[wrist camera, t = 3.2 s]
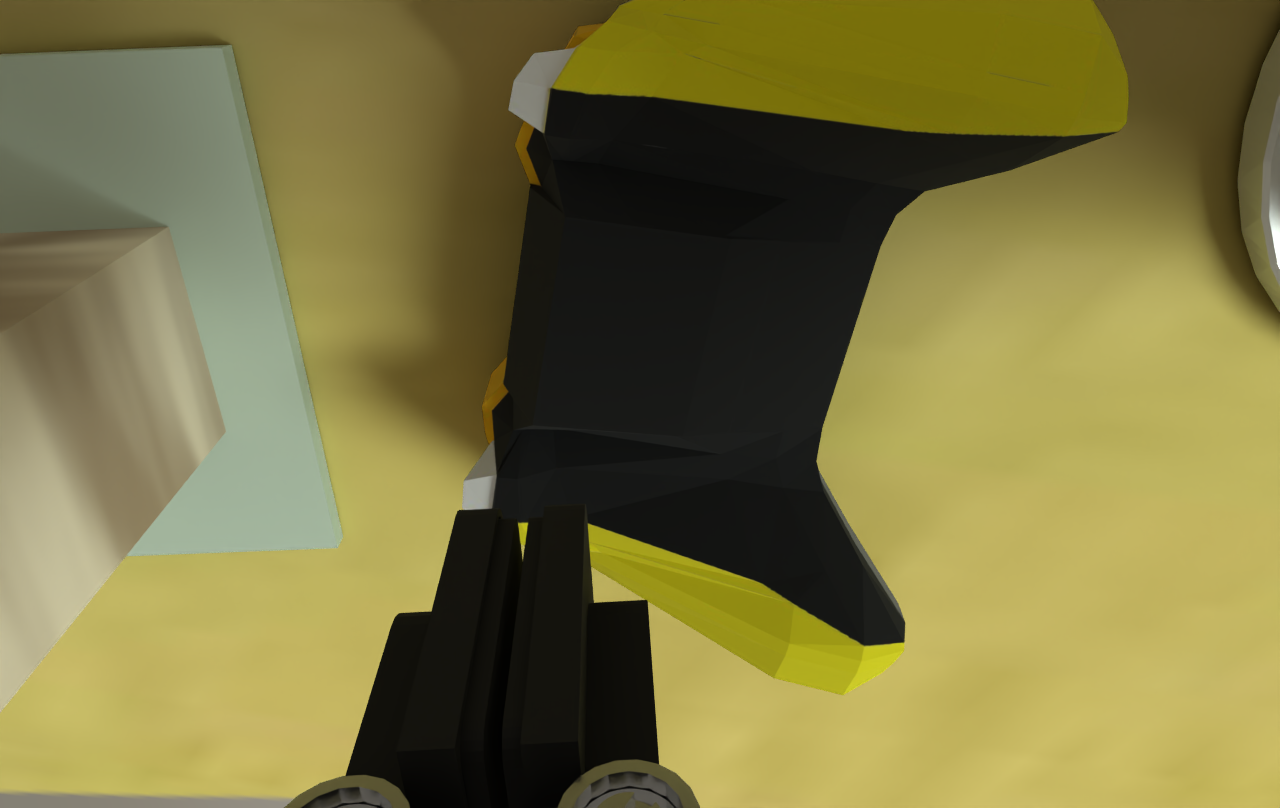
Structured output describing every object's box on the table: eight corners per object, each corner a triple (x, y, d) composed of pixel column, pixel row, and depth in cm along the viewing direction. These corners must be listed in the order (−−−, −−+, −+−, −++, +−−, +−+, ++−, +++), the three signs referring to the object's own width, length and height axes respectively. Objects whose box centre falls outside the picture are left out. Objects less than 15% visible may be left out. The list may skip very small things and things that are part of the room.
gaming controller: (1053, -19, 18) (555, -129, 17) (1215, -2, 13) (527, -154, 12) (838, 577, 25) (471, 524, 24) (892, 735, 20) (432, 676, 19)
